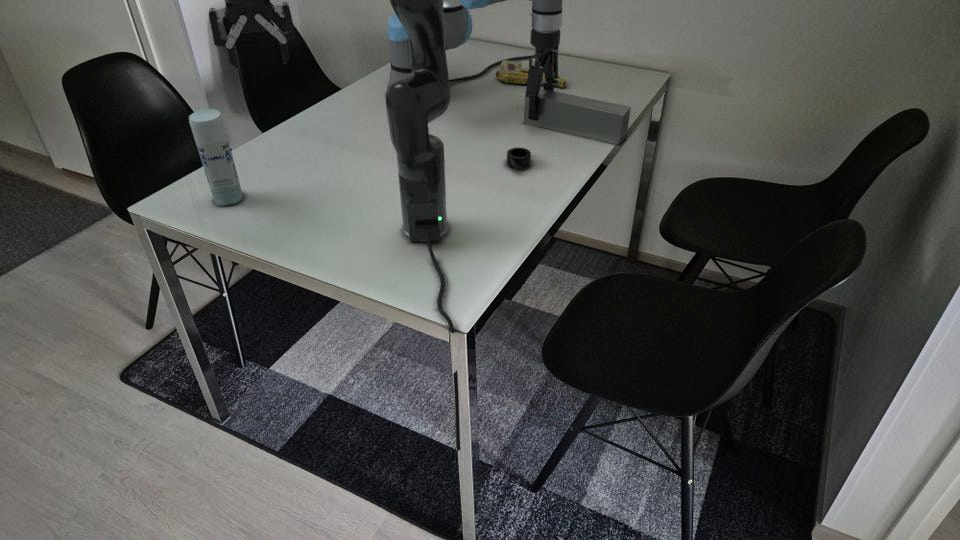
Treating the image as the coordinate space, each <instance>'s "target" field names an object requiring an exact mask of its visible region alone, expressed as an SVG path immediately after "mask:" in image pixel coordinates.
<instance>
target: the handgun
mask: <svg viewBox="0 0 960 540" xmlns="http://www.w3.org/2000/svg"><path fill="white" fill-rule="evenodd" d="M503 60H504V61H503V62H502V63H501V64H499V68H500V70H496V72H495V73H494V75H495V77H496V78H497V79H498V80H500V81H502V82H504V83H511V84H522V85H527V80H528V72H529V70H526V69H523V68H522V65H523V64H522V63H521V61H518V60H512V61H508V60H505V59H503ZM555 80H558V83H557V84H553V85H554V87H557V88H562V89H563V88H564V87H565V88H566V87H567V81H566V77H565V78H563V77H561V76H560V75H558V79H555ZM544 83H547V82H546V80H545V74H543V78H542V83H541V86H544Z"/></svg>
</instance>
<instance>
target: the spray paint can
mask: <svg viewBox="0 0 960 540" xmlns="http://www.w3.org/2000/svg"><path fill="white" fill-rule="evenodd" d="M188 123H189V126H190V129H191V133H192V135H193V139H194V141H195V142H194V143H195V145H196V149H197V151H198V154H199V157H200V161H201V163H202V168H203V171H204V174H205V176H206V180H207V183H208V186H209V189H210V193H211V195H212V199H213V201H214V203H215V204H216V205H218V206H231V205H235V204H237V203H239V202H240V201H241V200H242V199H243V197H244V195H243V191H242V187H241V182H240V179H239V175H238V171H237V168H236V164H235V160H234V155H233V153H232V149H231V148H232V147H231V145H230V141H229V138H228V133H227V129H226V127H225V122H224V118H223V114H222V113H221V112H220V111H219V110H217V109H213V108H211V109H209V108H208V109H200V110H197V111H195V112H192V113H191V114H190V115H189V116H188Z"/></svg>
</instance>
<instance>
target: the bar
mask: <svg viewBox="0 0 960 540" xmlns="http://www.w3.org/2000/svg"><path fill="white" fill-rule="evenodd" d="M539 97H540V105H539V120H538V121H535V120H531V119H528V115H529V97H526V93H525V94H524V109H523V124H526V125H530V126H535V127H539V128H541V129H542V128H543V129H547V130H552V131H555V132H560V133H565V134H569V135H573V136H577V137H582V138H586V139H590V140H591V139H592V140H595V141H599V142H603V143H608V144H612V145H616V146H620V145H621V144H622V142H623V141H624V140H625V139H626V137H627V135H628V129H629V123H630V117H631V109H632V107H631V106H628V105H623V104H620V103H619V104H618V103H614V102H610V101H609V102H608V101H603V100H599V99H594V98H590V97H584V96H579V95H575V94H570V93H564V92H560V91H555V90H554V91H551V90H546V89H544V88H541V87H540V91H539Z"/></svg>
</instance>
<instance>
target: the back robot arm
mask: <svg viewBox="0 0 960 540" xmlns="http://www.w3.org/2000/svg"><path fill="white" fill-rule="evenodd" d="M506 1H508V0H443V16H444V39H445V51H448V50H454V49H457V48H459V47H461V46H463V45H464V44H466V43H467V42H468V41H469V39H470V38H471V36H472V33H473V27H474V26H473V23H474V22H473V17H472V15H471V14H470V10H475V9H483V8H485V7H487V6H491V5H494V4H498V3H503V2H506ZM529 1H530V2H531V13H530V14H529V15H530V17H531V25H530V27H531V29H530V38H529V39H530V40H529V41H530V45H531V46H533V47H534V48H535V52H534V54H532V55H522V56H516V57H509V58H505V59H502V60H498V61H496V62H494V63H492V64H489V65H488V66H487V67H485V68H484V69H483V70H482V71H480V72H479V73H476V74H473V75H467V76H463V77H457V78H449V83H454V82H460V81H466V80H472V79H475V78H478V77H480V76H482V75H484V74H485V73H487V72H488V71H489V70H490V69H492V68H494V67H496V66H498V65H501V63H502V62H503V61H504V60H508V61H518V60H526V59H529V60H528V71H529V72H528V80H527V83H526V88H525V94H526V97H529V115H528V119H531V120H535V121H538V120H539V105H540V97H539V91H540V88H541V87H542V85H541V83H542V78H543V75H545V80H546V82H547V83H544V85H543V89H546V90H551V91H555V86H554V85H553V84H557V83H558V80H555V79H558V76H559V48H560V46H559V45H560V43H561V30H560V29H561V28H562V20H563V0H529ZM386 27H387V31H386V36H387V41H388V53H389V62H390V73H389V77H388V81H387V85H386V91H387V90H388V88H389V86H390V85H391V84H392V83H393V82H395V81H397V80H399V79H401V78H403V77H405V76H407V75H409V74H411V72H412V51H411V44H410V40H409V37H408V34H407V32H406V30H405V28H404V27H403V25H402V23H401V22H400V20H399V18H398V17H397V15H396V13H395V12H394V13H393V14H391V15H390V16H389V18H388V19H387V26H386Z"/></svg>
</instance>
